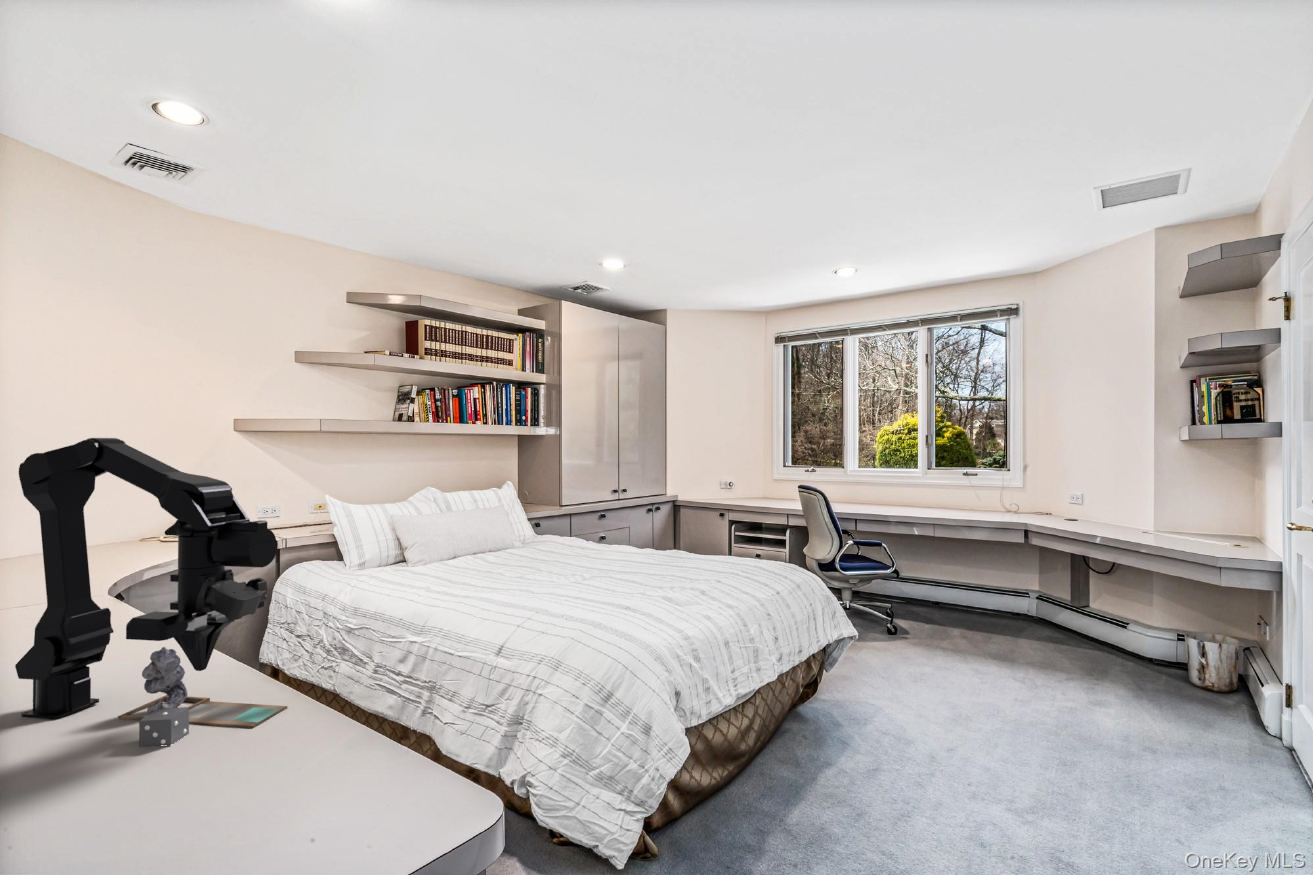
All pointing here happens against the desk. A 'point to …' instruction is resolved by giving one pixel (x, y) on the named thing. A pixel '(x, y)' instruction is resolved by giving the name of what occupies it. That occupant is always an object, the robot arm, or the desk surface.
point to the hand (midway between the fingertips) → (200, 670)
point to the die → (164, 727)
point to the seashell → (165, 678)
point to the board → (232, 714)
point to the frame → (188, 699)
